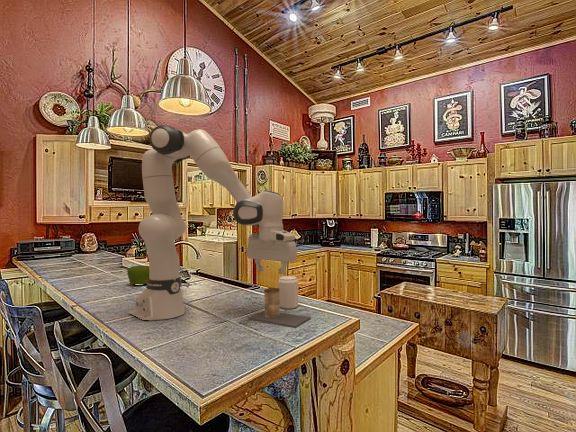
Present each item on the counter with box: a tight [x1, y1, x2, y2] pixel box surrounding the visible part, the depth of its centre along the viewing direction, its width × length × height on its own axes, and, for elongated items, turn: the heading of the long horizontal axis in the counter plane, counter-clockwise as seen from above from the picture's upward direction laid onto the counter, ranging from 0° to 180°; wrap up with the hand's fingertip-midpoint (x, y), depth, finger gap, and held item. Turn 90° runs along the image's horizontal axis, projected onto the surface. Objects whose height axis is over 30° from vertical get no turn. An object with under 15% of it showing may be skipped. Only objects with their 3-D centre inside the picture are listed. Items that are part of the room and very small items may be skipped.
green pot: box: [126, 265, 149, 285], centre depth 188 cm, size 12×12×11 cm
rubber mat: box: [247, 309, 311, 329], centre depth 123 cm, size 20×11×1 cm, turn 59°
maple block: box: [263, 287, 281, 318], centre depth 124 cm, size 4×4×10 cm
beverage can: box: [277, 275, 299, 310], centre depth 139 cm, size 8×8×12 cm
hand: (270, 272), depth 124 cm, fingers open, 8 cm apart
